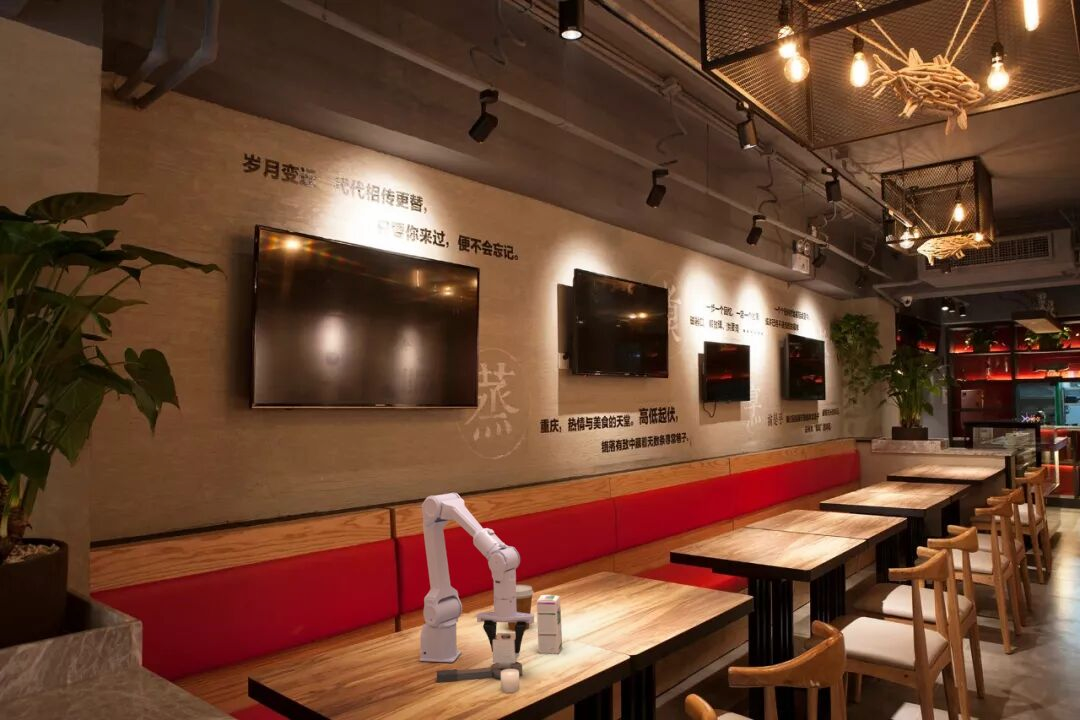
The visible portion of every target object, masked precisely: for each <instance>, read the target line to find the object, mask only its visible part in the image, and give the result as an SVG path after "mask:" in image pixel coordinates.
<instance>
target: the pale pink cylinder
mask: <svg viewBox="0 0 1080 720" xmlns="http://www.w3.org/2000/svg"><path fill="white" fill-rule="evenodd" d="M519 690H520V677H519V671H518V670H516V669H505V670H502V671H501V680H500V691H501V692H503V693H506V694H508V693H509V694H512V693H517V692H519Z"/></svg>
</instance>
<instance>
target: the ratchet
mask: <svg viewBox="0 0 1080 720" xmlns="http://www.w3.org/2000/svg"><path fill="white" fill-rule="evenodd" d="M505 669H516V670H518V671H519V678H521V677H522V676H523V664H522V663H521V662H519V661H516V662H515V663H493V664H491V665H490V667H481V668H479V667H478V668H470V669H469V668H467V669H457V668H455V669H443V670H436V683H448V682H450V683H451V682H459V681H467V680H469V681H470V680H478V679H479V680H480V679H490V678H492V679H494V680H497V681H501V671H502V670H505Z"/></svg>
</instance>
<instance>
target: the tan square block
mask: <svg viewBox="0 0 1080 720" xmlns="http://www.w3.org/2000/svg"><path fill="white" fill-rule="evenodd" d="M519 657H520V652H519V653H516V635H515V632H514V633H511V632H496V636H495V637H494V638H493V652H492V663H493V664H494V663H515V662H518V659H519Z"/></svg>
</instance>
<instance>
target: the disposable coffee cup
mask: <svg viewBox="0 0 1080 720" xmlns="http://www.w3.org/2000/svg"><path fill="white" fill-rule="evenodd" d="M533 595H534V590H533V587H532V586H531V585H527V584H516V611H517V612H520V613H527V614H531V612H532V611H531V609H532V603H533V602H532V601H533ZM507 623H508V624H507V625H508V629H509V630H510V631H514V632H515V625H516V624H517V623H512V622H507ZM529 628H530V624H529V623H528V624H527V626H526V629H525V631H526V630H528V629H529Z"/></svg>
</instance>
